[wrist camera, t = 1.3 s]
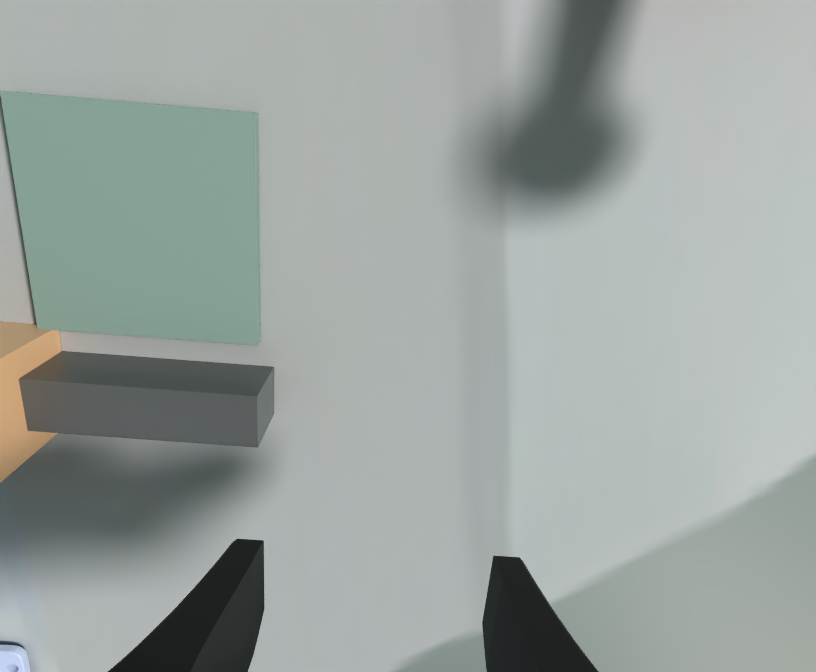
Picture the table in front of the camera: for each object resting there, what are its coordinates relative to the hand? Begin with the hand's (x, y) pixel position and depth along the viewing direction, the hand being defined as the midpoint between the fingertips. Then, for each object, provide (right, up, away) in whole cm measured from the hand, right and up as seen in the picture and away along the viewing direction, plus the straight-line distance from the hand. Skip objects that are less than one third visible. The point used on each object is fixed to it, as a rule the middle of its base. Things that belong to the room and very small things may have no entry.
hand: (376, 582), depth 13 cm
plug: (-11, +4, +8) cm, 14 cm away
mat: (-9, +10, +6) cm, 14 cm away
